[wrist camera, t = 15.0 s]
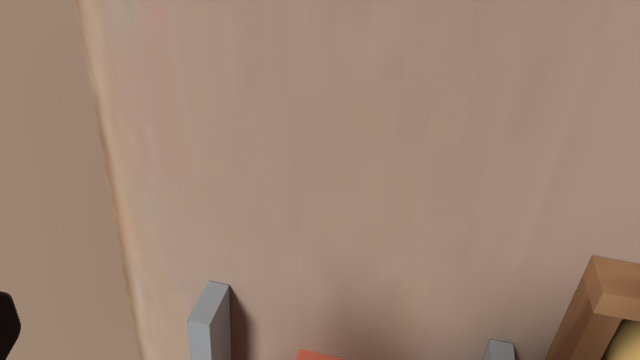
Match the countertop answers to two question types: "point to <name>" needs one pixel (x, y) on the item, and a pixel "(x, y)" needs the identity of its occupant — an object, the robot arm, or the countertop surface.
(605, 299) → the housing
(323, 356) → the cube
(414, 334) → the countertop surface
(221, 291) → the pocket
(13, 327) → the robot arm
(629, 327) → the pale yellow rounded block
